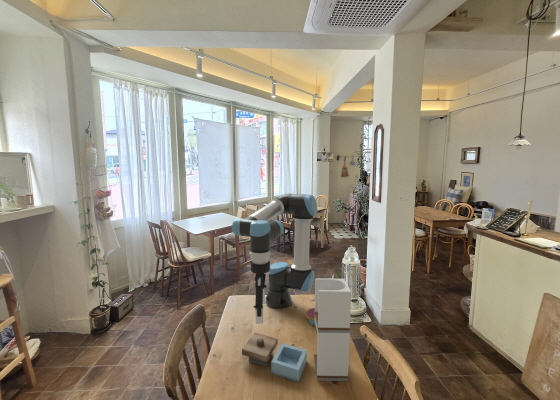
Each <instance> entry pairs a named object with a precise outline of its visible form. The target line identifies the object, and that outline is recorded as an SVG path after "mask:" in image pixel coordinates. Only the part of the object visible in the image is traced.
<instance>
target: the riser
mask: <svg viewBox="0 0 560 400" xmlns="http://www.w3.org/2000/svg"><path fill="white" fill-rule="evenodd" d="M269 360H270V358H269V359H268V361H269ZM268 361H267V362H264V361H261V360H257V359H254V358H251V357H248V362H249V363H252V364H255V365H259V366H262V367H265V366H266V364H267V363H268Z"/></svg>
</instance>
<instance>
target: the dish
mask: <svg viewBox="0 0 560 400" xmlns="http://www.w3.org/2000/svg"><path fill="white" fill-rule="evenodd" d="M307 360H308V350H307V349H304V348H300V347H296V346H293V345H291V344H290V345H289V344H286V343H283V342H282V343H281V345H280V346H279V348H278V349H277V351H276V353H275V354H274V356H273V358H272V360H271V362H270V363H271V364H270V365H271V366H270V367H271V369H270V372H271V374H272V375H275V376H278V377H280V378H283V379H287V380H289V381H293V382H295V383H297V384H299V382H300V381H301V377H302V375H303V373H304V370H305V368H306V365H307V363H308V361H307Z"/></svg>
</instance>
